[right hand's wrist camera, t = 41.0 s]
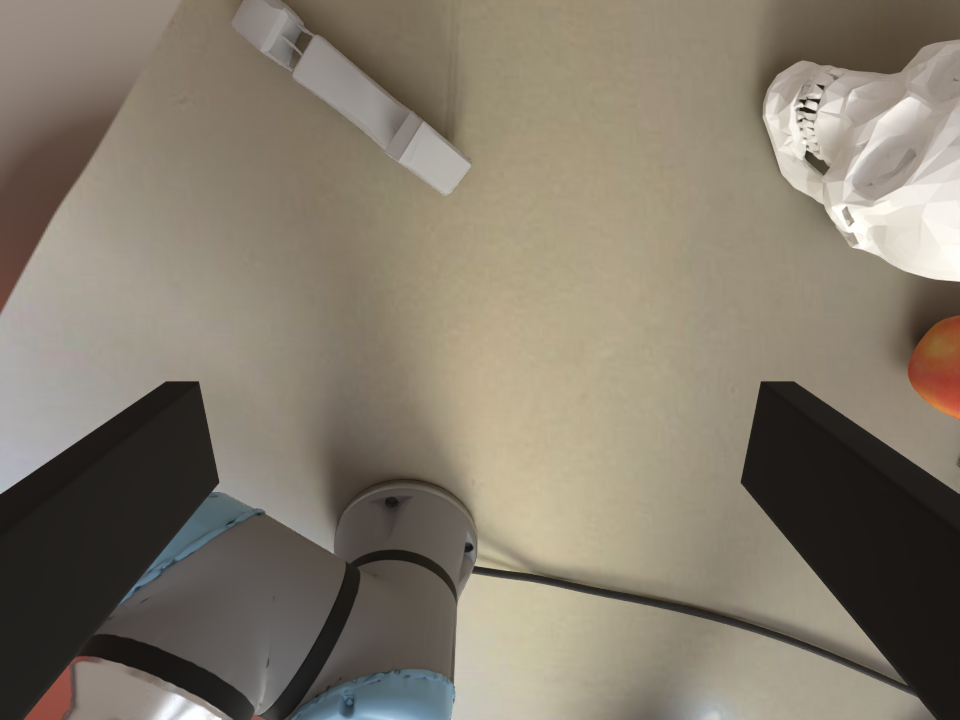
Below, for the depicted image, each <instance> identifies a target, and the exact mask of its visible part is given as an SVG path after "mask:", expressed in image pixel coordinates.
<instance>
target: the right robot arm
mask: <svg viewBox="0 0 960 720" xmlns="http://www.w3.org/2000/svg"><path fill="white" fill-rule="evenodd" d="M218 484H219V478H218V473H217V469H216V464H215V459H214V454H213V449H212V444H211V439H210V434H209V429H208V424H207V419H206V414H205V409H204V404H203V399H202V394H201V389H200V384H199V381H166V382H165V383H163V384H162V385H160V386H159V387H157V388H156V389H154V390H153V391H151V392H150V393H148V394H147V395H146V396H144V397H143V398H141V399H140V400H138V401H137V402H135V403H134V404H132V405H131V406H129V407H128V408H126V409H125V410H124V411H122V412H121V413H119V414H118V415H116V416H115V417H113V418H112V419H110V420H109V421H107V422H106V423H104V424H103V425H102V426H100V427H99V428H97V429H96V430H94V431H93V432H91V433H90V434H88V435H87V436H85V437H84V438H82V439H81V440H80V441H78V442H77V443H75V444H74V445H72V446H71V447H69V448H68V449H66V450H65V451H63V452H62V453H60V454H59V455H58V456H56V457H55V458H53V459H52V460H50V461H49V462H47V463H46V464H44V465H43V466H41V467H40V468H38V469H37V470H36V471H34V472H33V473H31V474H30V475H28V476H27V477H25V478H24V479H22V480H21V481H19V482H18V483H16V484H15V485H14V486H12V487H11V488H9V489H8V490H6V491H5V492H3V493H2V494H0V720H23V719H24V718H25V717H26V716H27V715H28V713H29V712H30V711H31V710H32V708H33V707H34V706H35V705H36V704H37V702H38V701H39V700H40V699H41V698H42V696H43V695H44V694H45V693H46V692H47V690H48V689H49V688H50V687H51V686H52V684H53V683H54V682H55V681H56V680H57V678H58V677H59V676H60V675H61V673H62V672H63V671H64V670H65V669H66V667H67V666H68V665H69V664H70V663H71V664H70V681H71V695H72V696H71V700H70V705H69V709H68V710H67V711H66V712H65V714H64V715H63V716H62V718H61V719H60V720H251V718H252V716H253V714H255V715H257V716H260V717H262V718H264V719H266V720H451V714H452V707H453V703H454V700H455V689H454V688H455V687H454V667H455V645H456V622H457V601H458V599H459V597H460V595H461V593H462V591H463V589H464V587H465V585H466V583H467V581H468V579H469V577H470V575H471V573H473V574H479V575H486V576H492V577H499V578H507V579H515V580H523V581H530V582H535V583H541V584H546V585H551V586H556V587H561V588H565V589H570V590H574V591H579V592H583V593H588V594H593V595H598V596H603V597H608V598H613V599H618V600H624V601H629V602H634V603H639V604H644V605H649V606H654V607H659V608H663V609H668V610H672V611H677V612H681V613H685V614H689V615H694V616H698V617H702V618H705V619H709V620H713V621H717V622H720V623H724V624H728V625H731V626H735V627H738V628H742V629H745V630H748V631H752V632H755V633H758V634H761V635H764V636H767V637H770V638H773V639H776V640H779V641H782V642H785V643H788V644H791V645H793V646H796V647H799V648H802V649H804V650H807V651H810V652H812V653H815V654H817V655H820V656H823V657H825V658H828V659H830V660H833V661H835V662H838V663H840V664H842V665H845V666H847V667H850V668H852V669H854V670H857V671H859V672H861V673H864V674H866V675H868V676H871V677H873V678H875V679H878V680H880V681H882V682H885V683H887V684H889V685H891V686H894V687H896V688H898V689H900V690H903V691H905V692H907V693H909V694H912V695H914V696H916V697H918V698H919V699H920V700H921V701H922V703H923V704H924V705H925V706H926V707H927V709H928V710H929V711H930V712H931V713H932V715H933V716H934V717H935V718H936V719H937V720H960V494H958V493H957V492H955V491H954V490H952V489H951V488H949V487H948V486H946V485H945V484H944V483H942V482H941V481H939V480H938V479H936V478H935V477H933V476H932V475H930V474H929V473H927V472H926V471H924V470H923V469H922V468H920V467H919V466H917V465H916V464H914V463H913V462H911V461H910V460H908V459H907V458H905V457H904V456H902V455H901V454H900V453H898V452H897V451H895V450H894V449H892V448H891V447H889V446H888V445H886V444H885V443H883V442H882V441H880V440H879V439H878V438H876V437H875V436H873V435H872V434H870V433H869V432H867V431H866V430H864V429H863V428H861V427H860V426H858V425H857V424H856V423H854V422H853V421H851V420H850V419H848V418H847V417H845V416H844V415H842V414H841V413H839V412H838V411H836V410H835V409H834V408H832V407H831V406H829V405H828V404H826V403H825V402H823V401H822V400H820V399H819V398H817V397H816V396H814V395H813V394H812V393H810V392H809V391H807V390H806V389H804V388H803V387H801V386H800V385H798V384H797V383H795V382H794V381H761V384H760V389H759V394H758V399H757V404H756V409H755V414H754V419H753V424H752V429H751V434H750V439H749V444H748V449H747V454H746V459H745V464H744V469H743V473H742V478H741V484H742V485H743V486H744V487H745V488H746V490H747V491H748V492H749V493H750V495H751V496H752V497H753V498H754V499H755V501H756V502H757V503H758V504H759V505H760V507H761V508H762V509H763V510H764V511H765V513H766V514H767V515H768V516H769V518H770V519H771V520H772V521H773V522H774V524H775V525H776V526H777V527H778V528H779V530H780V531H781V532H782V533H783V534H784V536H785V537H786V538H787V539H788V540H789V542H790V543H791V544H792V545H793V547H794V548H795V549H796V550H797V551H798V553H799V554H800V555H801V556H802V557H803V559H804V560H805V561H806V562H807V563H808V565H809V566H810V567H811V568H812V570H813V571H814V572H815V573H816V574H817V576H818V577H819V578H820V579H821V580H822V582H823V583H824V584H825V585H826V586H827V588H828V589H829V590H830V591H831V592H832V594H833V595H834V596H835V597H836V599H837V600H838V601H839V602H840V603H841V605H842V606H843V607H844V608H845V609H846V611H847V612H848V613H849V614H850V615H851V617H852V618H853V619H854V620H855V622H856V623H857V624H858V625H859V626H860V628H861V629H862V630H863V631H864V632H865V634H866V635H867V636H868V637H869V638H870V640H871V641H872V642H873V643H874V644H875V646H876V647H877V648H878V649H879V651H880V652H881V653H882V654H883V655H884V657H885V658H886V659H887V660H888V661H889V663H890V664H891V665H892V666H893V667H894V669H895V670H896V671H897V672H898V673H899V675H900V676H901V677H902V678H903V680H904V681H905V682H906V683H907V684H908V686H907V685H905V684H903V683H900V682H898V681H896V680H894V679H891V678H889V677H887V676H885V675H882V674H880V673H878V672H875V671H873V670H871V669H869V668H866V667H864V666H862V665H859V664H857V663H855V662H852V661H850V660H848V659H845V658H843V657H840V656H838V655H836V654H833V653H831V652H828V651H826V650H823V649H820V648H818V647H815V646H813V645H810V644H808V643H805V642H802V641H800V640H797V639H794V638H791V637H789V636H786V635H783V634H780V633H777V632H774V631H771V630H768V629H765V628H762V627H759V626H756V625H753V624H749V623H746V622H743V621H739V620H736V619H732V618H729V617H725V616H722V615H718V614H714V613H711V612H707V611H703V610H699V609H695V608H691V607H687V606H682V605H678V604H674V603H669V602H665V601H660V600H656V599H651V598H646V597H641V596H636V595H631V594H626V593H620V592H615V591H610V590H605V589H600V588H595V587H590V586H585V585H581V584H576V583H572V582H567V581H563V580H558V579H554V578H549V577H544V576H538V575H533V574H526V573H519V572H511V571H504V570H497V569H490V568H484V567H478V566H474V564H475V561H476V557H477V531H476V527H475V524H474V521H473V519H472V517H471V515H470V513H469V512H468V510H467V509H466V507H465V506H464V505H463V504H462V503H461V502H460V501H459V500H458V499H457V498H456V497H455V496H453V495H452V494H450V493H449V492H447V491H446V490H444V489H442V488H440V487H438V486H435V485H432V484H429V483H426V482H422V481H416V480H393V481H387V482H383V483H379V484H377V485H374V486H372V487H370V488H368V489H366V490H364V491H363V492H361V493H360V494H358V495H357V496H356V497H355V498H354V499H353V500H352V501H351V502H350V503H349V504H348V506H347V507H346V509H345V510H344V512H343V514H342V516H341V519H340V521H339V524H338V526H337V529H336V533H335V540H334V554H335V555H334V554H332V553H331V552H329V551H327V550H326V549H324V548H322V547H320V546H319V545H317V544H315V543H314V542H312V541H310V540H309V539H307V538H305V537H304V536H302V535H300V534H298V533H297V532H295V531H293V530H292V529H290V528H288V527H287V526H285V525H283V524H281V523H280V522H278V521H276V520H275V519H273V518H271V517H270V516H268V515H266V514H265V511H264V510H262V509H254V508H252V507H250V506H248V505H246V504H244V503H242V502H240V501H238V500H236V499H234V498H232V497H231V496H229V495H226V494H224V493H220V492H212V491H213V490H214V488H215V487H216V486H217V485H218ZM81 649H82V650H81ZM77 654H78V655H77ZM76 655H77V656H76ZM73 659H74V660H73ZM72 660H73V661H72ZM71 661H72V662H71Z"/></svg>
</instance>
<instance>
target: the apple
mask: <svg viewBox="0 0 960 720" xmlns="http://www.w3.org/2000/svg"><path fill="white" fill-rule="evenodd" d="M908 376H909V380H910V382H911V384H912V386H913V388H914V389H915V390H916V392H917V393H918V394H919V395H920V396H921V397H922V398H923V399H924V400H925V401H926V402H928V403H929V404H930V405H932V406H933V407H935V408H936V409H938V410H940V411H941V412H943V413H945V414H947V415H950V416H952V417H955V418H957V419H960V315H957V316H952V317H948V318H946V319H943V320H941V321H939V322H938V323H936V324H935V325H934V326H933V327H931V328H930V330H929V331H928V332H927V333H926V334H925V335H924V336H923V338H922V339H921V340H920V342H919V343H918V344H917V346H916V348H915V349H914V351H913V353H912V355H911V358H910V361H909V365H908Z"/></svg>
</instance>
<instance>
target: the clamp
mask: <svg viewBox="0 0 960 720" xmlns="http://www.w3.org/2000/svg"><path fill="white" fill-rule="evenodd" d="M231 25H232V26H233V28H234V29H235V30H236V31H237V32H239V33H240V34H241V35H242V36H243V37H244V38H245V39H246V40H248V41H249V42H250V43H251V44H252V45H253V46H254V47H255V48H257V49H258V50H259V51H260V52H262V53H264V54H265V55H266V56H268V57H269V58H271V59H272V60H274V61H275V62H277V63H278V64H279V65H281V66H283V67H285V68H287V69H288V70H289V71H290V72H292V77H293V78H294V80H295V81H296V82H297V83H299V84H300V85H302V86H303V87H304V88H306V89H307V90H309V91H310V92H311V93H313V94H314V95H316V96H317V97H318V98H320V99H321V100H323V101H324V102H326V103H327V104H328V105H330V106H331V107H333V108H334V109H335V110H337V111H338V112H339V113H340V114H342V115H343V116H344V117H345V118H347V119H348V120H349V121H351V122H352V123H353V124H354V125H356V126H357V127H358V128H359V129H361V130H362V131H363V132H365V133H366V134H367V135H368V136H369V137H370V138H371V139H372V140H374V141H375V142H376V143H377V144H378V145H379V146H380V147H381V148H383V149H384V150H385V151H384V153H385V154H386V155H388V156H389V157H391V158H392V159H394V160H395V161H397V162H398V163H400V164H401V165H403V166H404V167H406V168H407V169H408V170H410V171H411V172H412V173H414V174H415V175H416V176H418V177H419V178H420V179H422V180H423V181H424V182H426V183H427V184H428V185H430V186H431V187H432V188H434V189H435V190H436V191H438V192H439V193H440V194H442V195H443V196H444V195H448V194H450V193H451V192H452V191H453V190H454V188H455V187H456V186H457V185H458V183H459V182H460V181H461V179H462V178H463V177H464V176H465V174H466V173H467V172H468V170H469V169H470V168H471V167H472V162H471V160H470V158H469V157H467V156H466V155H465V154H463V153H462V152H461V151H459V150H458V149H457V148H455V147H454V146H453V145H452V144H451V143H449V142H448V141H447V140H446V139H445V138H444V137H442V136H441V135H440V134H439V133H438V132H436V131H435V130H434V129H433V128H432V127H431V126H429V125H428V124H427V123H426V122H425V121H424V120H423V119H421V118H420V117H419V116H418V115H417V114H416V113H414V112H413V111H411V110H409V109H408V108H407V107H405V106H404V105H403V104H401V103H400V102H398V101H397V100H396V99H395V98H394V97H392V96H391V95H390V94H389V93H388V92H387V91H385V90H384V89H383V88H382V87H381V86H379V85H378V84H377V83H376V82H375V81H374V80H372V79H371V78H370V77H369V76H368V75H366V74H365V73H364V72H363V71H362V70H361V69H359V68H358V67H357V66H356V65H355V64H353V63H352V62H351V61H350V60H349V59H348V58H346V57H345V56H344V55H343V54H342V53H341V52H339V51H338V50H337V49H336V48H335V47H333V46H332V45H331V44H330V43H329V42H328V41H327V40H325V39H324V38H323V37H322V36H320V35H318V34H316V35H314V34H312V33H311V32H310V31H309V30H307V29H306V28H305V27H304V23H303V21H302V20H301V19H300V18H299V17H298V16H297V14H296V13H295V12H294V11H293V10H292V9H291V8H290V7H289V6H287V5H286V4H285V3H284V2H283V1H281V0H243V2H242V3H241V5H240V7H239V9H238V11H237V13H236V15H235V17H234V18H233V20H232V24H231ZM302 31H303V32H304V33H306V34H308V35H310V36H312V39H311V41H310V42H309V44H308V46H307V48H306V49H305V51H304V53H302V52H301V51H300V50H299V49H298V48H297V47H296V46H295V44H296V42H297V40H298V38H299V36H300V34H301V32H302ZM294 49H295V50H296V51H297V52H298V53H299V54H300V55H301V58H300V60H299V61H298V63H297V65H296V66H295V68H294V69H293V68H292V67H291V66H290V63H291V59H292V55H293V51H294Z"/></svg>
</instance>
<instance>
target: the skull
mask: <svg viewBox="0 0 960 720" xmlns="http://www.w3.org/2000/svg"><path fill="white" fill-rule="evenodd" d="M817 84H819V85H823V86H825V87H824V90H822V89H821V88H819V87H818V86H817ZM809 86H810V87H809ZM805 93H806V94H805ZM807 97H808V99H821V100H820V103H819V104H817V103H816V102H813V101H810V100H807ZM800 99H805V100H807V101H806V103H805V105H803V104H802V103H801V102H800ZM804 106H805V107H807V108H810V109H812V110H815V111H816V113H815V114H811V113H806V112H803V111H799V107H804ZM802 118H806V119H808V120H805V119H803V122H800V119H802ZM763 120H764V123H765V125H766V128H767V131H768V133H769V136H770V139H771V142H772V146H773V149H774V152H775V155H776V158H777V161H778V164H779V168H780V171H781V174H782V175H783V176H784V177H785V178H786V179H787V180H788V182H789V183H790V184H791V185H792V186H793V187H794V188H796V189H797V190H799V191H801V192H803V193H805V194H807V195H809V196H811V197H813V198H814V199H815V200H816V201H817V202H819V203H821V204H824V206H825V210H826V211H827V213H828V215H829V216H830V218H831V219H832V220H833V222H834V223H835V227H836V228H837V229H838V230H839V231H840V232H841V234H842V235H843V236H844V237H845V239H846V241H847V243H848V244H849V246H850V247H853V248H857V249H862V250H865V251H867V252H870V253H872V254H875V255H878V256H880V257H881V258H883V259H884V260H886V261H887V262H888V263H890V264H892V265H894V266H896V267H898V268H899V269H901V270H903V271H906V272H909V273H913V274H916V275H920V276H923V277H927V278H931V279H937V280H948V281H960V39H959V40H952V41H945V42H938V43H933V44H930V45H927V46H924V47H923V48H921V49H920V51H919V52H918V53H917V55H916V56H915V57H914V58H913V59H912V60H911V61H910V62H909V64H908V65H907V66H906V67H905V68H904V69H903V70H902V71H901V72H899V73H894V74H889V75H888V74H881V73H875V72H861V71H852V70H848V69H844V68H836V67H834V66H831V65H823V66H820V65H818V64H816V63H814V62H809V61H800V62H797V63H796V64H794V65H792V66H791V67H789V68H787V69H786V70H784V71H783V72H781V73H779V74H778V75H777V76H776V78H775V79H774V81H773V82H772V84H771V85H770V86H769V88H768V90H767V93H766V96H765V99H764V102H763ZM810 120H814V121H810ZM812 128H814V130H813V129H812ZM806 150H807V151H809V152H811V153H813V155H814V156H815V157H817V158H818V159H819V160H824V161H825V163H826V165H827V166H829V167H830V168H829V169H828V171H827V172H826V174H825V175H823V174H822V173H820V172H819V171H818V170H817V169H816V168H815V167H813V166H812V165H811V164H810V163H809V162H808V161H807V160H806V159H805V157H804V156H805V152H806Z"/></svg>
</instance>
